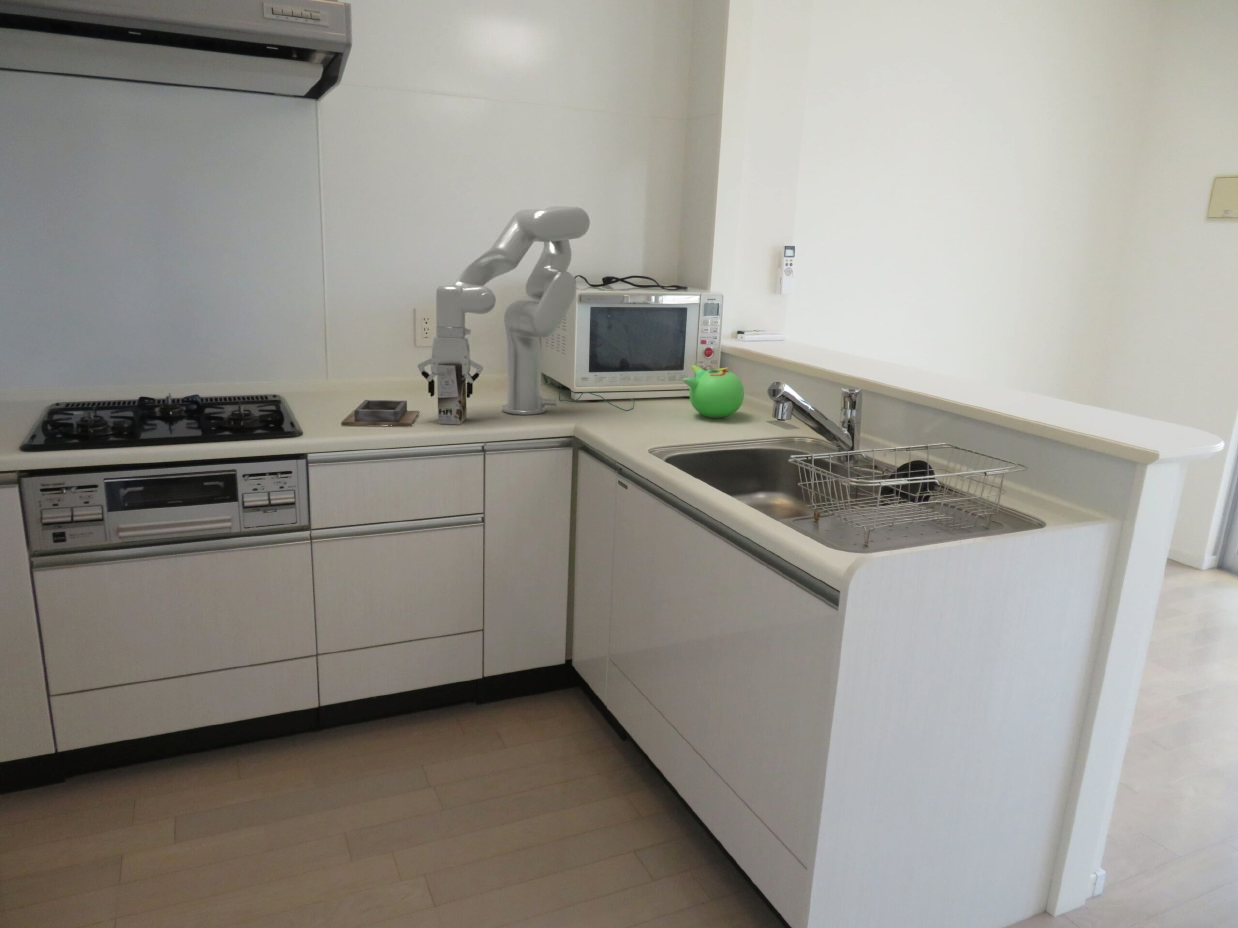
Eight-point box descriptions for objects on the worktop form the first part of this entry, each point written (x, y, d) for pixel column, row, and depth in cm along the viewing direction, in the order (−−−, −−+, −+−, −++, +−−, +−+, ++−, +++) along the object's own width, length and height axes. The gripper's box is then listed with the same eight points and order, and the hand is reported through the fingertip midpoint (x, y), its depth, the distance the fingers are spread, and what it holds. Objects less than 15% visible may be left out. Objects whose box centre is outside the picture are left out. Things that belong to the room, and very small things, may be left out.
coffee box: (461, 425, 241) (460, 365, 237) (437, 424, 241) (436, 364, 237) (467, 417, 250) (466, 360, 246) (444, 417, 250) (443, 359, 246)
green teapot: (740, 425, 252) (743, 373, 248) (680, 420, 255) (683, 369, 251) (744, 412, 269) (747, 364, 265) (688, 408, 272) (691, 360, 268)
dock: (419, 414, 252) (419, 400, 251) (411, 426, 237) (410, 411, 236) (354, 413, 251) (353, 399, 250) (341, 425, 235) (340, 410, 234)
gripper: (484, 332, 244) (483, 395, 248) (419, 330, 242) (420, 393, 246) (482, 335, 236) (481, 400, 240) (415, 333, 235) (416, 397, 239)
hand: (450, 396), depth 243 cm, fingers open, 9 cm apart
